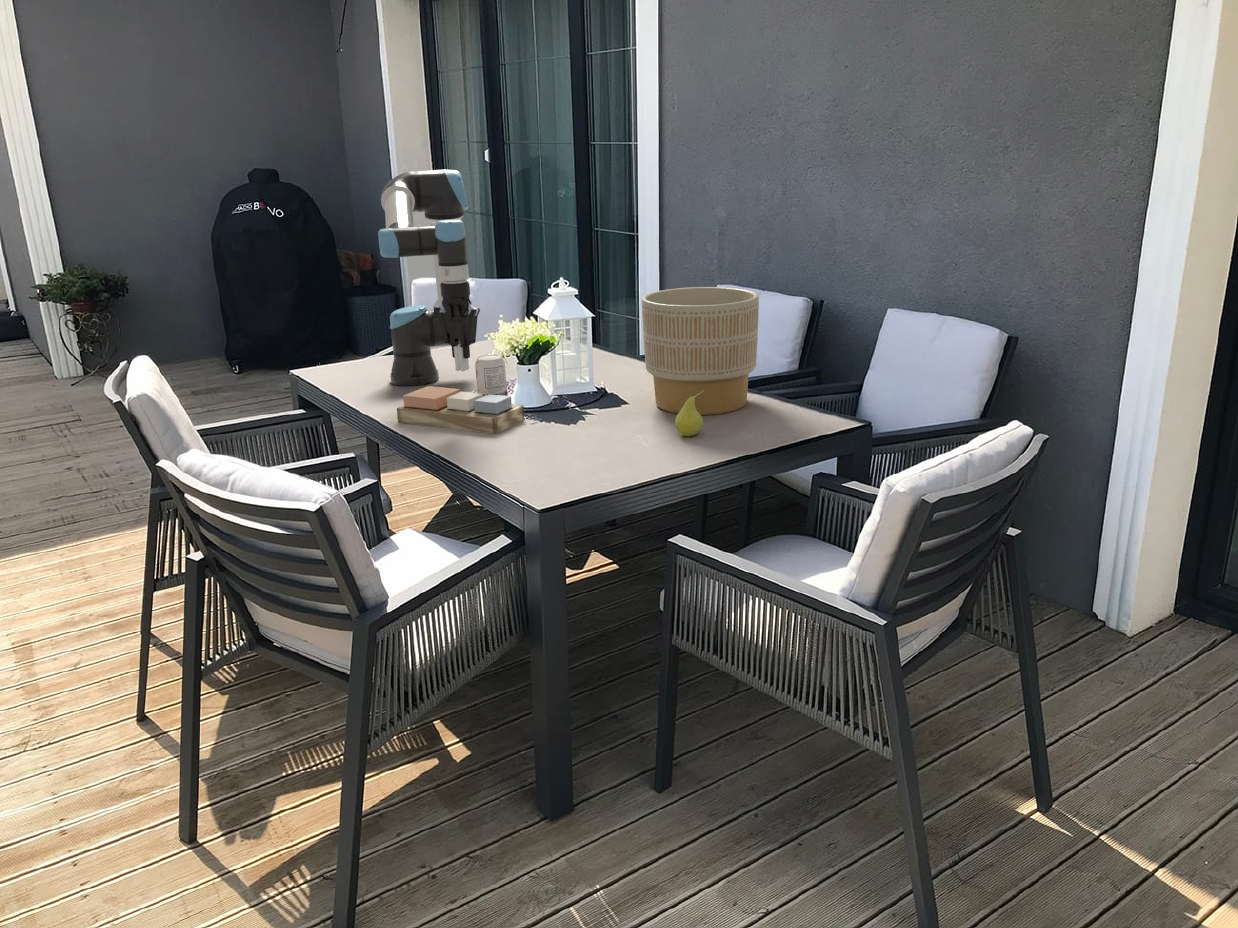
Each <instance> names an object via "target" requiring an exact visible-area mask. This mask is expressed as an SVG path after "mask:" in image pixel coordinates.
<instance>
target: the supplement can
mask: <svg viewBox="0 0 1238 928" xmlns="http://www.w3.org/2000/svg"><path fill="white" fill-rule="evenodd" d="M492 355H493V356H492ZM498 355H499V354H486V355H485V354H484V355H480V356H478V357H476V361H475V363H474V366H475V367H474V368H475V377H476V378H475V379H476V380H475V381H476V390H477V391H476V393H482V394H483V397H484V396H486V395H488V394H492V395H502V396H508V388H507V387H508V385H507V374H506V372H507V371H506V361H505V359H504V358H503V356H502V355H500V356H501V357H500V356H498Z"/></svg>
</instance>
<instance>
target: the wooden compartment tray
mask: <svg viewBox="0 0 1238 928" xmlns="http://www.w3.org/2000/svg"><path fill="white" fill-rule="evenodd" d="M396 413H397V414H396V416H397V423H400V424H401V423H402V424H411V425H417V426H418V425H420V426H427V427H434V428H435V427H436V428H444V429H452V430H461V431H469V432H477V433H485V434H486V433H487V434H495V435H497V434H498V433H500V432H503V431H504V430H506V429H508V428H511V427H512V426H515V425H517V424H519V423H520V422H522V421H525V409H524V405H522V404H513V403H512V407H511V408H509V409H507V410H505V411H504V413H503V414H501V415H498V416H496V415H487V414H483V412H475V410H474V411H472V412H470V413H469V412H459V411H456V409H448V408H447V407H446V408H444V409H441V410H439V411H428V410H419V409H418V408H416V407H407V406H404V404H403V405H401V406H399V407H396Z"/></svg>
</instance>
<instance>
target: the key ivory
mask: <svg viewBox="0 0 1238 928" xmlns="http://www.w3.org/2000/svg"><path fill="white" fill-rule="evenodd" d="M481 397H483V394H482V393H478V392H470V391H460V392H459V393H457V394H454V395H452V396H450V397H447V408H448V409H456V411H459V412H469V413H470V412H472V411H474V410H475V403H474V401H475V400H477V399H479V398H481Z"/></svg>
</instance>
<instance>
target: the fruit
mask: <svg viewBox="0 0 1238 928" xmlns="http://www.w3.org/2000/svg"><path fill="white" fill-rule="evenodd" d="M704 391H705V390H704V389H703V390H702V391H701V392H700V393H698V394H697V395H695V396H692V397H690V398H689V399H688V400H687V401H686V402H685V404H684V406H683V407H682V409H681V410H680V412H679V413H678V414H677V415H676V416H675V421H674V424H675V427H676V428H675V429H676V430H677V431H678V433H679V434H680V435H681V436H684V437H693V436H695V435H697V434H698V433H700V432H701V429H702V428H703V425H704V419H703V415H700V414H699V413H698V412H697V411H696V408H695V397H696V396H698V395H699V394H701V393H703V392H704Z"/></svg>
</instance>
